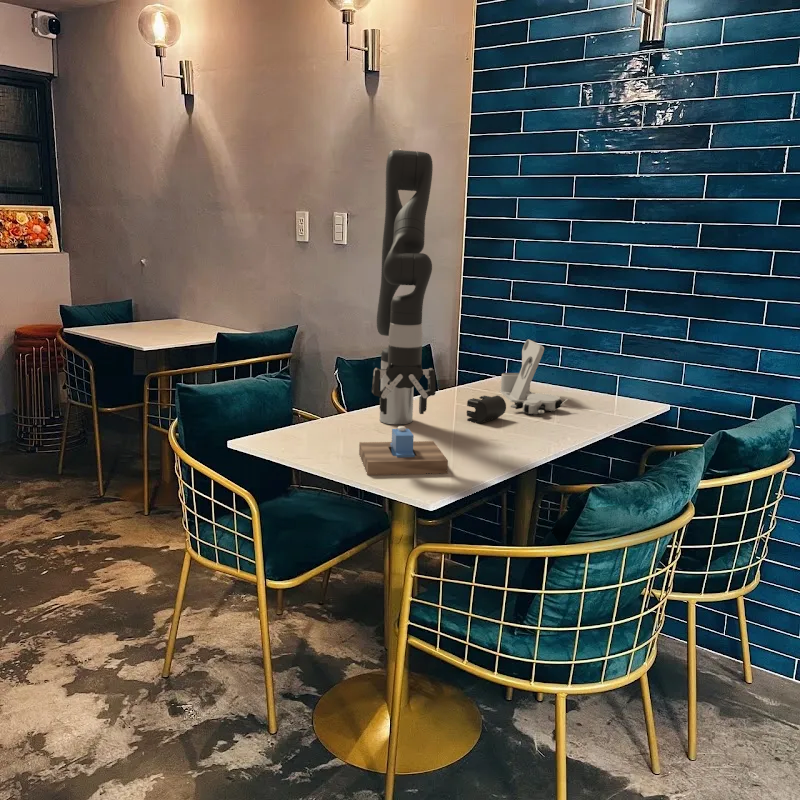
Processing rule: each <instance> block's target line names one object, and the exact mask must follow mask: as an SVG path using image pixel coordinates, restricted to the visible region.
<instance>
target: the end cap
mask: <svg viewBox="0 0 800 800" xmlns="http://www.w3.org/2000/svg"><path fill="white" fill-rule="evenodd" d="M466 407H470V408H473V409H474V411H473V410H466V416H467V417H468V418H466V419H467V420H466V421H467V422H470V421H471V423H475V422H476V424H482V423H485V422H488V421H489V422H490V421H492V420H496V419H498V418H500V417H502V416H503V415H504V414H505V413H506V410H507V403H506V401H505V399H504V398H503V397H502V396H500V395H493V396H489V395H482V396H481V395H480V396H479V398H476V397H474V398H469V399H468V400H467V403H466Z"/></svg>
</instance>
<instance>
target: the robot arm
mask: <svg viewBox="0 0 800 800" xmlns="http://www.w3.org/2000/svg"><path fill="white" fill-rule="evenodd" d="M385 164H386V165H385V210H384V211H385V214H384V216H385V217H384V225H383V226H384V227H383V235H382V245H381V247H382V248H381V249H382V250H381V274H380V275H381V276H380V289H379V297H378V305H377V313H376V328H377V332H378V334H379V335H380V336H386V337H388V338H387V342H388V347H386V348H383V349H382V351H381V352H380V353H381V355H380V360H381V361H380V368H378V367H375V368H374V369H373V372H372V376H373V377H372V387H371V393H372V394H373V396H375V397H378V398H379V422H381V423H383V424H388V425H407V424H411V423H412V422H413V417H414V416H413V415H414V414H413V413H414V388H415V389H416V391H418V394H420V396H419V403H418V413H419V415H424V414H425V412H427V405H428V403H427V401H428V398H429V397H431V396H435V395H436V371H435V369H433V367H429V368H427V369H426V368H425V369H423V368H422V359H423V358H422V354H423V351H422V350H423V326H422V323H423V308H424V307H423V306H424V299H425V296H426V295H425V294H426V291H427V287H428V284H429V282H430V278H431V275H432V271H433V263H432V260H431V257H430V256H429V255H428V254H426V253H422V251H423V250H424V247H425V235H426V233H425V229H426V228H425V226H426V216H427V211H428V206H429V200H430V194H431V187H432V179H433V172H434V171H433V168H434V167H433V158H432V156H431V154H430V153H429V152H425V151H418V150H417V151H416V150H415V151H414V150H402V149H393V150H391V151H389V153H388V155H387V159H386V163H385ZM399 191H409V192H415V193H414V194H413V195H412V197H411V198H410V199H409V200H408V201H407V202H406V203H404V205H403V204H402V201H401V198H400V195H399V194H400V193H399ZM400 286H414V289H413V291H411V292H410V293H407V294H403V295H396V296H395V294H396V292H397V290H398V289H399V287H400ZM423 376H425V378H426V379H427V389H426V390H425V389H424V387H423V386H422V385H421V384H420V382H419V381H420V379H421V378H422V377H423Z"/></svg>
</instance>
